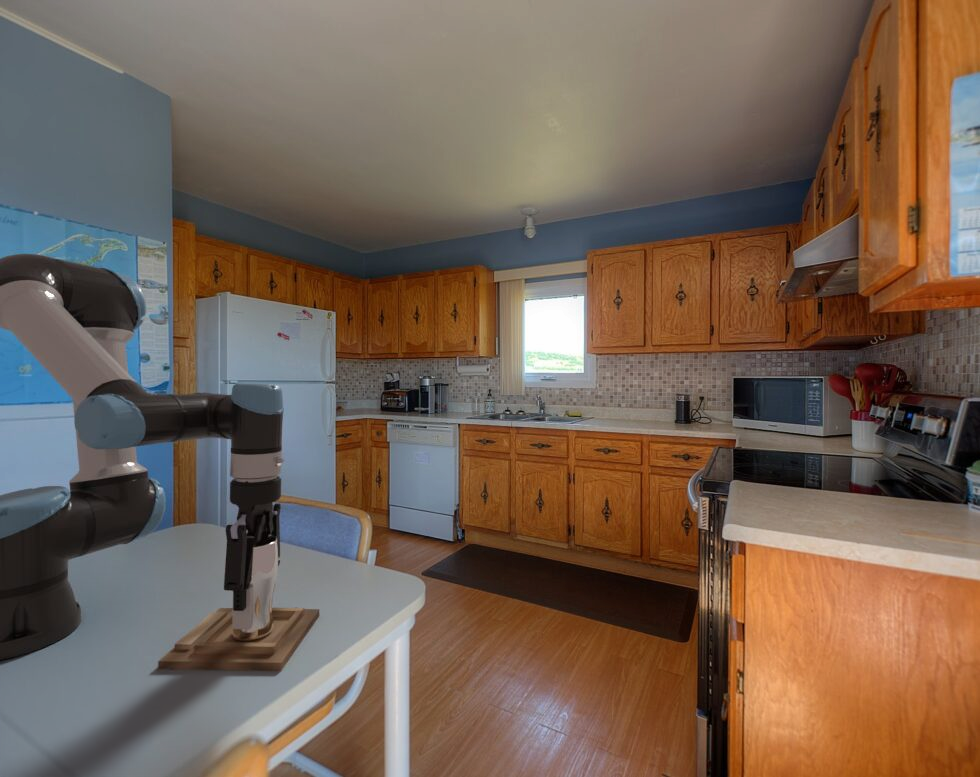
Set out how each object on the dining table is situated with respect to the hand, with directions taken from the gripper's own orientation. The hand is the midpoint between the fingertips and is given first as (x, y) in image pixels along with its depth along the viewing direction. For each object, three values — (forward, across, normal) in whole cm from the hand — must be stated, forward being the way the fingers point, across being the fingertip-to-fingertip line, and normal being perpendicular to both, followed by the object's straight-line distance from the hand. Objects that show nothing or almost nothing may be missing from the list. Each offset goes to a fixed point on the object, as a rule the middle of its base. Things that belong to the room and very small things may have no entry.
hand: (253, 616), depth 76 cm
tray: (+4, 0, +1) cm, 4 cm away
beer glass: (+3, 0, 0) cm, 3 cm away
